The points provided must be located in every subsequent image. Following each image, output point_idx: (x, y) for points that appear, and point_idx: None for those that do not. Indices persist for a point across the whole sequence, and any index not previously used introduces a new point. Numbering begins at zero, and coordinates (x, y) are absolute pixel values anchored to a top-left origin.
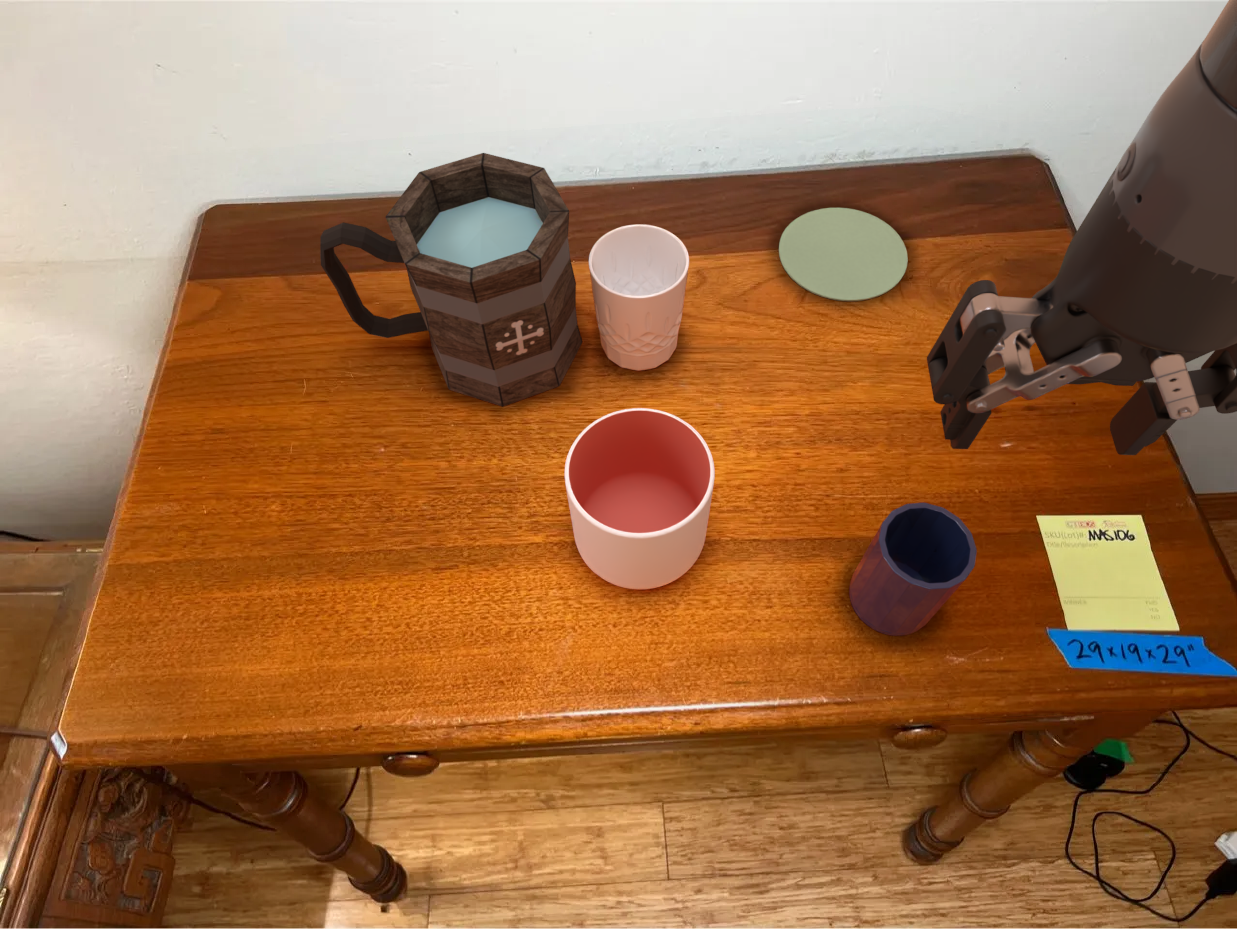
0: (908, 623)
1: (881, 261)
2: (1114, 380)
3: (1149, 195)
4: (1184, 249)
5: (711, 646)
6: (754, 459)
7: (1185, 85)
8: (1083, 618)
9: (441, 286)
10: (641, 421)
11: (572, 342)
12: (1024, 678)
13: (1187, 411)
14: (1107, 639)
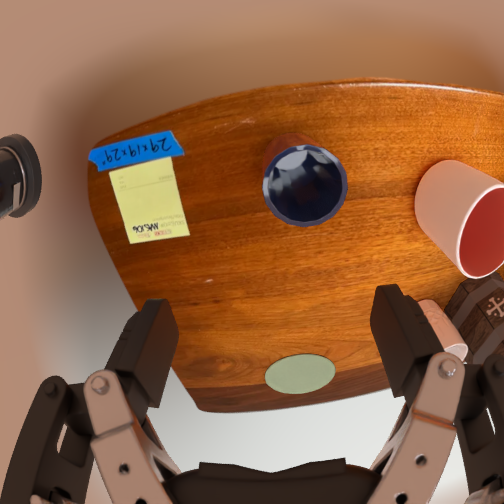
0: (291, 135)
1: (279, 374)
2: (246, 481)
3: None
4: None
5: (410, 122)
6: (374, 253)
7: None
8: (160, 166)
9: None
10: (474, 269)
11: (454, 308)
12: (200, 116)
13: (96, 389)
14: (147, 155)
